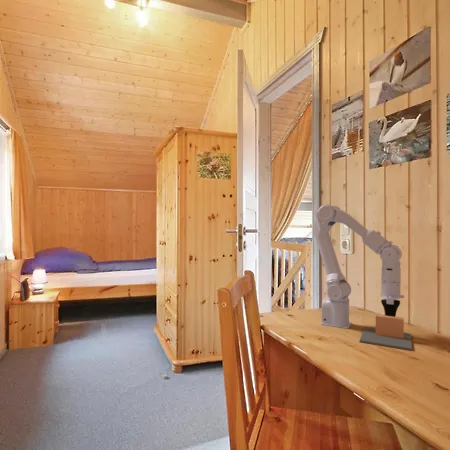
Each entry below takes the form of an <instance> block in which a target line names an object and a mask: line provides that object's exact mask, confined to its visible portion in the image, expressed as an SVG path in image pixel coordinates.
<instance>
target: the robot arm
mask: <svg viewBox="0 0 450 450" xmlns="http://www.w3.org/2000/svg"><path fill="white" fill-rule="evenodd" d="M336 223H339V224H343V225H345V226H346V227H348V228H349V229H350V230H352V231H353V232H354V233H356V234H357V235H359V237H360V238H361V239H362V240H361V241H362V243H363V244H364V245H365V246H367V247H368V248H369V249H370V250H372V251H373V252H374V253H375V254H377V255H379V258H380V260H381V290H380V291H381V292H380V297H382V298H383V299H381V300H380V303H381V305H382V307H383V310H384V314H385V316H393V317H397V316H396V315H397V312H398V308H399V306H400V305H401V301H400V299H405V295H404V294H401V281H402V280H401V279H402V277H401V274H402V273H401V272H402V271H401V270H402V269H401V258H402V257H403V253H402V250H401V249H400V247H399V246H398V245H396V244H393V241H391V240H388V239H386V237H384V236H383V235H381V234H382V233H381V232H380V231H379V230H375V229H370V230H369V229H368V228H366V226H364V225H363V224H362V223H360V222H359V221H358V220H357V219H355V218H354V217H353V216H352V215H351V214H349V213H348V212H346V211H345V210H343V209H341V208H340V207H339V206H337V205H330V204H327V203H326V204H322V205H321V206H320V207H318V209H317V210H316V212H315V220H314V224H313V233H314V237H315V240H316V244H317V247H318V249H319V253H320V258H321V260H322V264H323V268H324V269H325V273H326V279H325V283H326V295H327V297H328V298H323V299H322V302H321V323H320V325H322V326H328V327H336V328H341V329H349V328H350V327H351V325H352V322H351V321H350V299H349V296H350V295H351V293H352V287H351V285H350V283H349V282H348V281H347V280H346V277H345V275H344V274H343V272H342V270H341V266H340V264H339V261H338V258H337V254H336V251H335V248H334V245H333V241H332V239H331V236H330V231H331V229H332V228H333V226H334V225H335V224H336Z"/></svg>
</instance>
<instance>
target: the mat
mask: <svg viewBox="0 0 450 450" xmlns="http://www.w3.org/2000/svg"><path fill="white" fill-rule="evenodd" d="M359 343H363V344H367V345H368V344H369V345H373V346H375V345H376V346H381V347H387V348H393V349H399V350H406V351H410V352H411V351H413V345H412V344H413V343H412V334H411V333H408V332H404V339H401V338H395V337H388V336H382V335H376V328H374V327H367V326H366V327H363V331H362V334H361V336H360V338H359Z"/></svg>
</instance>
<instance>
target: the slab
mask: <svg viewBox="0 0 450 450" xmlns="http://www.w3.org/2000/svg"><path fill="white" fill-rule="evenodd" d="M404 322H405V319H404V317H399V316H395V317H393V316H386V315H383V314H375V329H376V335H382V336H388V337H395V338H401V339H404V333H405V332H404V331H405V329H404V328H405V323H404Z"/></svg>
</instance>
